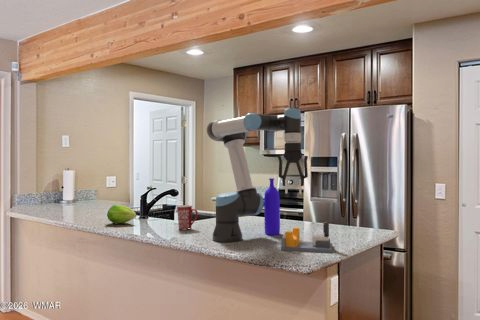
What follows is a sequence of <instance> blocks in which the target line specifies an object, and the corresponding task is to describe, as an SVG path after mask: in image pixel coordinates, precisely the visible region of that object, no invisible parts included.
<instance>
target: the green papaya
mask: <svg viewBox="0 0 480 320" xmlns="http://www.w3.org/2000/svg"><path fill="white" fill-rule="evenodd" d="M106 217H107V219H108V220H109V222H111V223H113V224H114V225H118V224H119V225H120V223H121V224H125V223H128V222H130V221H132V220H134V219H136V218H137V213H136V212H135V211H134V210H133V209H131V208H130V207H128V206H125V205H119V204H118V205H117V204H113V205H112V206H111V207H109V208H108V209H107V213H106Z"/></svg>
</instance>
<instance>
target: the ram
mask: <svg viewBox="0 0 480 320" xmlns="http://www.w3.org/2000/svg"><path fill="white" fill-rule="evenodd" d="M322 224H323V234H312V235H311V236H312V237H311V239H312V240H311V242H312V246H316V241H325V242H329V239H330V238H329V237H330V222H328V221H325V222H322Z"/></svg>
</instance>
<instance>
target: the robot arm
mask: <svg viewBox="0 0 480 320" xmlns="http://www.w3.org/2000/svg"><path fill="white" fill-rule="evenodd" d="M301 113H302V112H301V109H299V108H296V107H295V108H293V107H291V108H290V107H289V108H285V109H284V112H283V114H267V113H265V114H263V113H257V112H256V113H255V112H253V113H246V114H245V116H241V117H235V118H231V119H226V120H222V119H215V120H212V121H210V122H209V123H208V125H207V127H206V134H207V136H208V137H209V139H210V140H213V141H215V142H223V146H224V148H226V149H227V150H228V155H229V160H230V164H231V165H230V166H231V169H232V173H233V177H234V178H233V179H234V182H235V187H236V191H229V192H222V193H220V194H217V196H216V197H215V203H214V204H215V205H214V206H215V225H214V230H213V232H212V241H214V242H217V243H218V242H220V243H233V242H239V241H242V240H243V233H242V229H241V226H240V222H239V221H240V220H239V219H240V218H242V217H243V218H244V217H253V216H257V215H259V214H261V212H262V211H263V209H264V196H263V195H262V194H261V193H260V192H258V191H257V188H256V187H255V186H253V182H252V179H251V174H250V169H249V165H248V161H247V158H246V152H245V148H244V145H245V142H246V139H247V136H248V135H247V134H248V132H255V131H266V132H267V131H269V132H274V133H276V132H283V131H284V142H285V143H284V153H283V155H279V156H278V157H277V158H278V178H279V179H282V186H283V187H284V191H285V192H284V193H285V195H286V194H288V187H289V186H288V178H287V175H288V171H289V169H290V165H291V164H295V165H296V167H297V171H298V173H299V177H300V178H299V179H298V191H299V192H298V194H300V195H301V194H302V187H304V185H305V182H304V181H305V179H306V178H308V177H309V174H308V159H309V156H308V155H304V154H303V153H302V114H301ZM284 159H285V161H286V165H285V167H284V171H283V161H284ZM301 159H302V160H303V169H304V171H302V167H301V164H300V160H301ZM303 172H304V173H303Z"/></svg>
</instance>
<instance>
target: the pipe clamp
mask: <svg viewBox="0 0 480 320" xmlns="http://www.w3.org/2000/svg"><path fill="white" fill-rule="evenodd" d="M300 232H301V231H300V227H293V228H292V230H291V231H288V230H287V231H285V232H284V234H285V246H287V247H296V246H297V245H299V242H300V241H301V240H300V239H301V238H300V234H301V233H300Z"/></svg>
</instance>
